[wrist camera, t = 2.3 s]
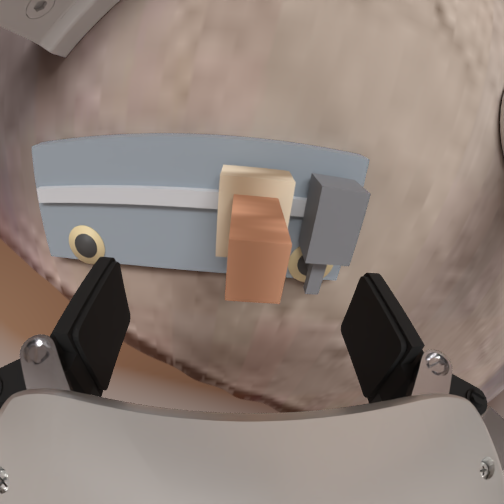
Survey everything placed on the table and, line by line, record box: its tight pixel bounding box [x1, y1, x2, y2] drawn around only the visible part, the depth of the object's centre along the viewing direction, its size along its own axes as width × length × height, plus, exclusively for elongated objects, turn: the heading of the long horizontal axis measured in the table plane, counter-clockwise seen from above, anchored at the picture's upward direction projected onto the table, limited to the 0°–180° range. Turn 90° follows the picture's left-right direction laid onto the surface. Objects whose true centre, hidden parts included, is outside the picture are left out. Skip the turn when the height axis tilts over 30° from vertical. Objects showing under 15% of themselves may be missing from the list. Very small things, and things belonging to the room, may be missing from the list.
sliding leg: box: [216, 165, 296, 304], centre depth 15 cm, size 4×8×8 cm, turn 174°
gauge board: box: [32, 133, 370, 294], centre depth 18 cm, size 25×10×5 cm, turn 84°
